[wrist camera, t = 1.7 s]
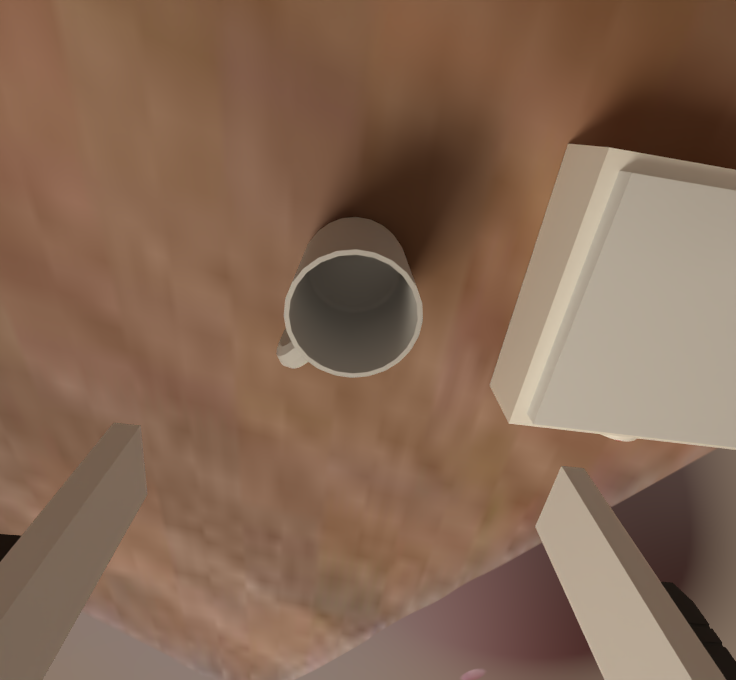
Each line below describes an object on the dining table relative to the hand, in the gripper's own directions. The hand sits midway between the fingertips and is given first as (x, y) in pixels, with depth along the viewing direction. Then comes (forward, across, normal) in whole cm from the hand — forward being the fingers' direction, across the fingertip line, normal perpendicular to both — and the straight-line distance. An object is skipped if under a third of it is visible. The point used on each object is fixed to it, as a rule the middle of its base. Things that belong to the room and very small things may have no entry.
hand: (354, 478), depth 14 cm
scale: (+19, +21, +2) cm, 29 cm away
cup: (+20, -1, 0) cm, 20 cm away
